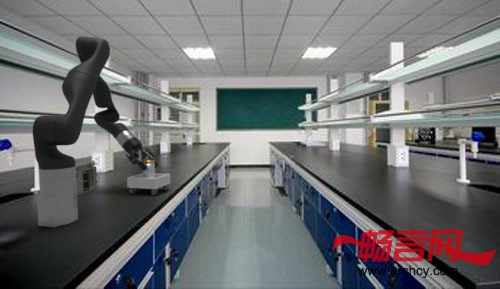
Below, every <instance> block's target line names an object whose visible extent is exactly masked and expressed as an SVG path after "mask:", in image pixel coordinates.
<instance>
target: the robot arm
mask: <svg viewBox="0 0 500 289" xmlns="http://www.w3.org/2000/svg"><path fill="white" fill-rule="evenodd" d="M75 50H76V54H77V57H78V59H79V62H80V63H79V64H77V65H75V66H74V67H72V68H71V69H70V70H69V71H68V72H67V74H66V76H65V77H64V79H63V82H62V84H61V90H62V94H63V96H64V99H65V100H66V102H67V104H68V108H67V112H65V114H63V115H40V116H37V117H36V118H35V119H34V121H33V123H32V124H33V125H32V139H33V147H34V156H35V160H36V162H37V165H38V180H39V183H38V184H39V193H37V194H36V207H37V210H36V211H37V224H38V226H39V227H48V228H56V227H61V226H65V225H69V224H72V223H74V222H77V221H78V219H79V218H78V217H79V214H78V213H79V212H78V196H77V190H76V168H75V164H76V159H75V158H74V156H71V155H67V154H66V153H63V152H61V151H60V150H59V149H58V146H72V145H75V144H76V143H77V141H78V140H79V138H80V136H81V135H80V134H81V133H82V128H83V123H84V120H85V115H86V114H87V110H88V106H89V104H90V101H91V98H92V97H93V101H94V104H95V106H96V107H97V108H99V109H104V110H101V111H98V112H96V113H95V114H94V115H93V119H94V122H95V124H96V125H97V126H99V128H101V129H103V130H104V131H106V132H107V133H109V134H111V136H112V137H113V138H114V139H115V140H116V142H117V144H119V146H120V147H121V148H122V149H123V150H124V151H125V153H126V154H125V157H126V158H127V159H128V160H129V161H130V163H131V164H132V165H136V166H138V167H139V168H140V169H141V170H142V172H143V171H145V170H146V169H147V166H146V165H145V164H144V163H143V160H155V169H157V168H158V166H159V165H160V164H159V162H158V161H156V158H157V156H156V155H155V154H154V153H153V152H152V151H151V150H150V149H149V148H146V149H144V148H143V143H142V142H141V141H140V140H139V139H138V138H137V137H136V136H135V135H134V133H132V132H131V130H130V129H128V128H127V126H126V125H125V124H124V123H123V122H118V121H119V120H120V113H119V112H118V110H117V108H116V106H115V103H114V102H113V97H112V93H111V88H110V86H109V85H108V83H107V82H106V80H104V78H103V77H102V76H101V73H102V71H103V69H104V67H105V66H106V64H107V63H108V60H109V58H110V55H111V46H110V43H109V42H108V40H106V39H105V38H102V37H96V36H84V35H83V36H82V35H81V36H78V37H77V38H76V41H75Z"/></svg>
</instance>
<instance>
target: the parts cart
mask: <svg viewBox="0 0 500 289" xmlns="http://www.w3.org/2000/svg"><path fill="white" fill-rule="evenodd" d="M126 182H127V183H126V184H127V185H126V186H127V188H129V190H128V191H129V194H132V195H133V194H134V195H135V194H136V192H137V189H143V190H150V191H151V192H150V193H151V195H152V196H156V195H157V194H158V189H160V188H162V190H163V191H168V190H169V188H170V186H169V185H170V184H171V173H156V172H155V178H143V172H142V173H139V174H135V175H130V176H128V177H126Z"/></svg>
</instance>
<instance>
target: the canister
mask: <svg viewBox="0 0 500 289" xmlns="http://www.w3.org/2000/svg"><path fill="white" fill-rule="evenodd" d="M155 161H156V159H154V160H144V159H142V162H143V163H144V164H145V165H146V166H147V169H146V170H145V171H143V170H142V173H143V178H155V173H156V168H155Z"/></svg>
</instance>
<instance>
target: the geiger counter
mask: <svg viewBox="0 0 500 289" xmlns="http://www.w3.org/2000/svg"><path fill="white" fill-rule="evenodd" d="M75 168H76V190H77V197H79V196H81V195H83V193H84V194H86V193H89V192H92V191H94V190H96V188H97V189H98V183H100V176H99V175H98V173H97V166H96V161H95V160H93V159H91V160H86V161H84V162H80V163H79V162H78V163H75ZM93 189H94V190H93ZM88 191H89V192H88ZM78 195H79V196H78Z"/></svg>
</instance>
